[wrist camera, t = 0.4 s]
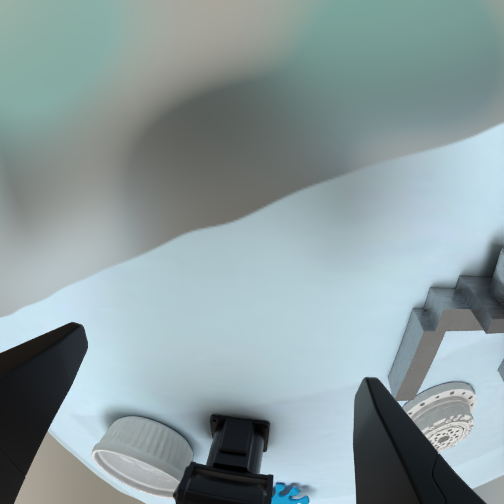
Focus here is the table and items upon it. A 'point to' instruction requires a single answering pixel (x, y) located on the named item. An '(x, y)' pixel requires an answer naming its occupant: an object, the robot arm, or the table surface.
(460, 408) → the mechanical component
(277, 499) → the gear
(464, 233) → the table surface
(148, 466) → the ramekin
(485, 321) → the clevis bracket
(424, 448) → the robot arm
